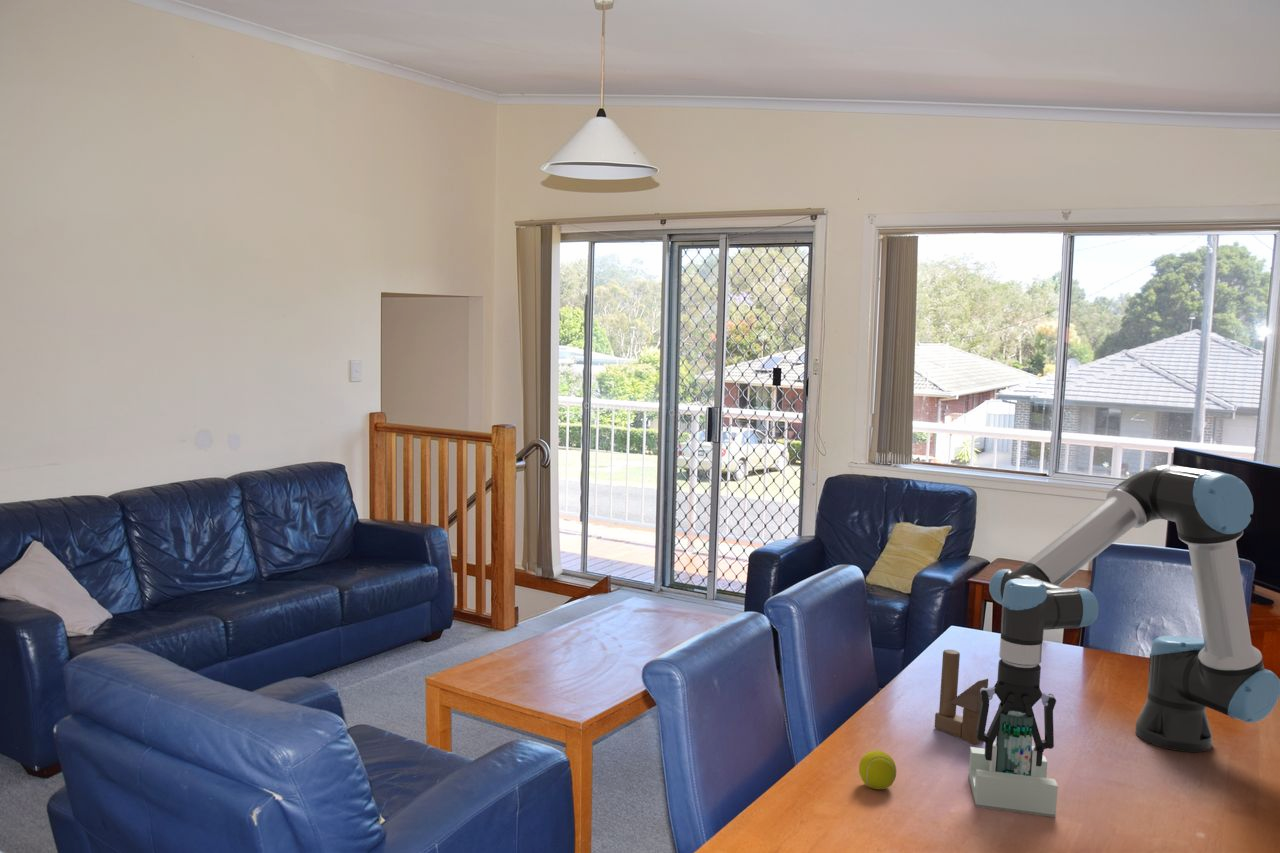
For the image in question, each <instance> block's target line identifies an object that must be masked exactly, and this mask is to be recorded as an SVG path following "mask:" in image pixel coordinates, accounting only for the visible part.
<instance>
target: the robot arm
mask: <svg viewBox="0 0 1280 853" xmlns="http://www.w3.org/2000/svg"><path fill="white" fill-rule="evenodd" d="M1253 514H1254V500H1253V495H1252V493H1251V491H1250V488H1249V487H1248V486H1247V484H1246V483H1245V481H1243V480H1242V479H1240V478H1239V477H1238V476H1235V475H1233V474H1230V473H1226V472H1223V471H1220V470H1216V469H1215V470H1214V469H1210V470H1209V469H1208V470H1207V469H1202V468H1195V467H1187V466H1183V465H1182V466H1181V465H1177V464H1171V463H1170V464H1159V465H1155V466H1152V467H1149V468H1147V469H1144V470H1141V471H1139V472H1137V473H1135V474H1133V475H1131V476H1130V477H1128V478H1127V479H1125V480H1123V481H1120V483H1118V484H1117V485H1115V486H1114V487H1113V488H1112V489H1110V490H1109V491H1108V492H1107V493H1106V498H1105V500H1103V502H1102V503H1100V504H1099V505H1098V506H1097V507H1095V508H1094V509H1093V510H1091V511H1090V512H1089V513H1087V514H1086V515H1085V516H1084V517H1083V518H1081V519H1080V520H1079V521H1077V522H1076V523H1075V524H1073V525H1072V526H1071V527H1070V528H1068V529H1067V530H1066V531H1064V532H1063V533H1062V534H1060V535H1059V536H1058V537H1057V538H1055V539H1053V541H1052V542H1050V543H1049V544H1047V545H1046V546H1045V547H1044V548H1042V549H1041V550H1040V551H1039V552H1037V553H1036V554H1035V555H1034V556H1032V557H1031V558H1030V559H1028V560H1027V561H1026V562H1024V563H1023V564H1022V565H1020V566H1019V567H1018V568H1016V569H1011V568H1002V569H999V570H997V571H996V572H995V573H994V574H993V575H992V577H991V578H990V580H989V584H988V590H989V594H990V596H991V599H993V601H994V602H996V603H998V604H999V605H1001V622H1000V623H1001V624H1000V642H999V652H998V656H999V660H998V665H997V680H996V683H995V684H994V687H993V686H992V687H988V688H985V687H981V688H980V693H981V698H982V699H981V705H980V711H979V717H978V723H977V729H976V735H977V739H978V740H979V741H983V742H982V743H985V744H984V749H985V758H986V760H989V761H990V767H989V771H994V772H995V770H996V756H997V745H996V742H997V741H996V739H997V734H998V732H999V730H1000V716H1001V713H1003V714H1006V715H1007V714H1008V712H1009V710H1019V711H1023V712H1026V714H1027V717H1033V730H1032V733H1033V737H1032V740H1033V741H1034V745H1032V751H1031V765H1030V776H1034V777H1035V771H1036V766H1040V767H1041V765H1042V755H1043V752H1044V751H1045V750H1047V749H1049V750H1050V749H1051V750H1052V749H1054V747H1055V742H1054V741H1055V740H1054V739H1055V737H1054V736H1055V735H1054V708H1055V706H1056V704H1057V700H1056V697H1055V695H1054V694H1052V693H1045V692H1042V690H1041V688H1040V687H1041V686H1040V685H1041V670H1042V667H1041V665H1040V664H1041V663H1042V657H1043V656H1042V654H1043V643H1044V642H1043V641H1044V632H1045V631H1047V630H1048V631H1049V630H1062V629H1079V628H1084V627H1089V626H1090V625H1093V624H1094V623H1095V622H1096V621H1097V618H1098V617H1099V602H1098V599H1097V597H1096V596H1095V594H1094V593H1093V592H1092V591H1091V590H1089V589H1087V588H1085V587H1076V586H1072V587H1064V586H1060V585H1061V584H1063V583H1064V582H1065V581H1067V580H1068V579H1069V578H1070V577H1072V576H1073V575H1074V574H1076V573H1077V572H1078V571H1079V570H1081V568H1084V567H1085V566H1086V565H1087V564H1088V563H1089V562H1091V561H1092V560H1094V559H1095V558H1096V557H1097V556H1099V555H1100V554H1102V553H1103V551H1104V550H1106V549H1107V548H1108V547H1110V546H1111V545H1112V544H1113V543H1115V542H1116V541H1117V540H1119V539H1120V538H1121V537H1123V536H1124V535H1125V534H1127V532H1129V531H1130V530H1131V529H1132V528H1135V529H1140V528H1142V527H1143V526H1145V525H1146V524H1147V523H1149V522H1151V521H1155V520H1166V521H1170V522H1174V523H1175V525H1176V531H1177V537H1178V539H1179V540H1180V541H1181V542H1183V543H1184V544H1186V545H1187V547H1188V552H1189V559H1190V566H1191V571H1192V577H1193V582H1194V589H1195V590H1194V591H1195V595H1196V601H1197V607H1198V608H1197V609H1198V613H1199V619H1200V627H1201V631H1202V637H1201V638H1200V637H1195V636H1189V635H1188V636H1186V635H1162V636H1158V637H1156V638H1154V639H1153V640H1152V643H1151V648H1150V653H1149V662H1148V663H1149V667H1148V676H1147V677H1148V680H1147V695H1146V701H1145V702H1144V705H1143V707H1142V709H1141V711H1140V713H1139V715H1138V717H1137V719H1136V722H1135V734H1136V735H1137V736H1138V738H1140V739H1142V740H1144V741H1145V742H1148V743H1150V744H1152V745H1154V746H1158V747H1161V748H1165V749H1168V750H1174V751H1179V752H1186V753H1187V752H1188V753H1196V752H1197V753H1198V752H1205V751H1208V750H1210V749H1211V748H1212V746H1213V734H1212V730H1211V726H1210V722H1209V719H1208V716H1207V715H1208V714H1207V710H1206V709H1207V708H1208V709H1211V710H1214V711H1216V712H1219V713H1220V714H1223V715H1225V716H1228V717H1229V718H1230V719H1234V720H1239V721H1242V722H1245V723H1257V722H1260V721H1262V720H1264V719H1265V718H1267V716H1269V715H1270V714H1271V712H1272V711H1273V710H1274V709H1275V707H1276V705H1277V703H1278V702H1279V698H1280V678H1279V676H1277V674H1275V672H1273V671H1272V670H1270V669H1266V668H1265V666H1264V660H1263V654H1262V652H1261V651H1260V650H1259V649H1258V648H1257V647H1256V646H1254V645H1253V643H1252V637H1251V632H1250V626H1249V619H1248V612H1247V605H1246V598H1245V593H1244V586H1243V579H1242V574H1241V573H1242V572H1241V565H1240V559H1239V553H1238V547H1237V546H1238V545H1237V541H1238V540H1239V539H1240V538H1241V537H1242V536H1243V535H1244V529H1246V528H1247V527H1248V526H1249V524H1250V523H1251V521H1252V518H1251V515H1253ZM994 695H996V696H997V698H998V699H999V704H998V707H997V708H998V709H997V710H996V712H995V715H994V717H993V719H992V722H991V724H990V725H989V728H988V730H987V732H986V727H987V722H988V716H989V711H990V710H989V708H990V701H991V700H992V699H993V697H994ZM1040 699H1041V703H1042V705H1043V712H1044V713H1043V716H1044V717H1043V718H1044V720H1043V721H1044V739H1042V738H1041V733H1040V730H1039V728H1038V725H1037V721H1036V717H1035V713H1034V710H1033V707H1034V705H1035V704H1037V702H1038V701H1040ZM1043 756H1044V755H1043Z"/></svg>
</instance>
